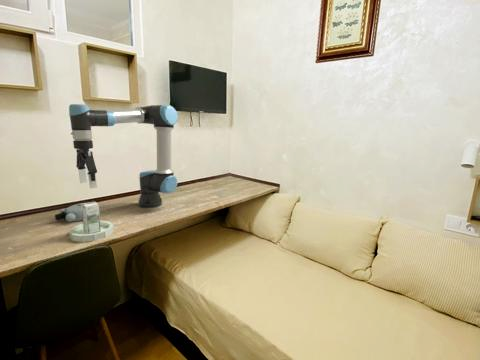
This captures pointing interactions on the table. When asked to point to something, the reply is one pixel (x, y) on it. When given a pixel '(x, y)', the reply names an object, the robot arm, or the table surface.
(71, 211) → the figurine
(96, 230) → the syrup box
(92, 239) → the round bowl
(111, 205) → the table surface
